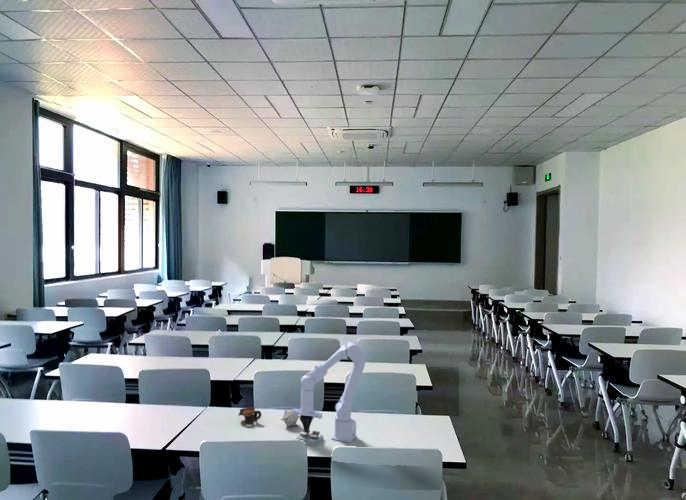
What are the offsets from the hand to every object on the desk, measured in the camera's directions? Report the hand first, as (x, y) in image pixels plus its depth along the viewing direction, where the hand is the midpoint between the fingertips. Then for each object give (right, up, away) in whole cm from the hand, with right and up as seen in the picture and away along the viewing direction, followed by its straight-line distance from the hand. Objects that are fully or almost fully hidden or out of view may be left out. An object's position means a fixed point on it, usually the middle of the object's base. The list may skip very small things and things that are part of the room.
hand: (306, 431), depth 219 cm
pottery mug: (-29, -2, +18) cm, 34 cm away
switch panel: (+2, -3, -2) cm, 5 cm away
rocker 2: (+4, -1, -4) cm, 5 cm away
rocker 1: (-1, 0, -2) cm, 2 cm away
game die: (-9, -3, +14) cm, 17 cm away
